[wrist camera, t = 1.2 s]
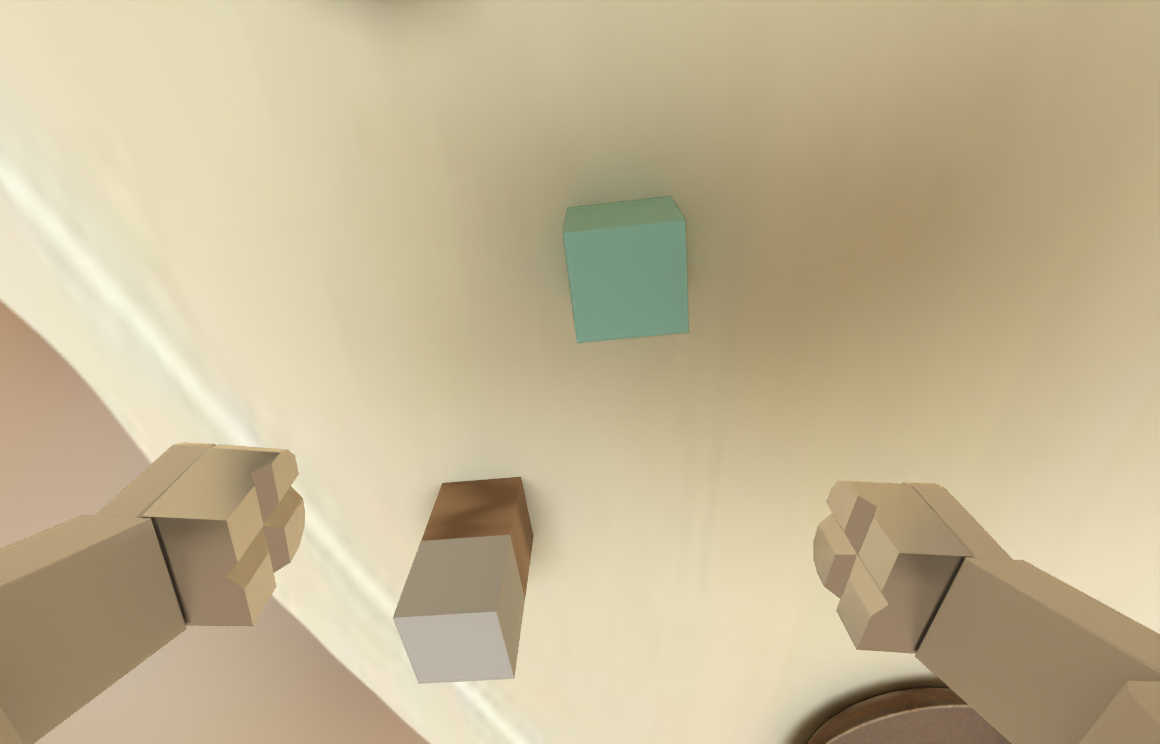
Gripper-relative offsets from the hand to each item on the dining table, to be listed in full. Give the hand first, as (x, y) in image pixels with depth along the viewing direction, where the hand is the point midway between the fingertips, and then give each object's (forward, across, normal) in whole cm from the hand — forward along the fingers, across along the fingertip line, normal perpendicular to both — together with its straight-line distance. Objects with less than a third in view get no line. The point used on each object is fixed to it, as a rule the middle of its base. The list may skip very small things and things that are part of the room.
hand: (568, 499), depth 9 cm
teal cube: (+22, -3, +2) cm, 22 cm away
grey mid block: (+17, +4, +19) cm, 26 cm away
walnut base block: (+22, +4, +19) cm, 30 cm away
